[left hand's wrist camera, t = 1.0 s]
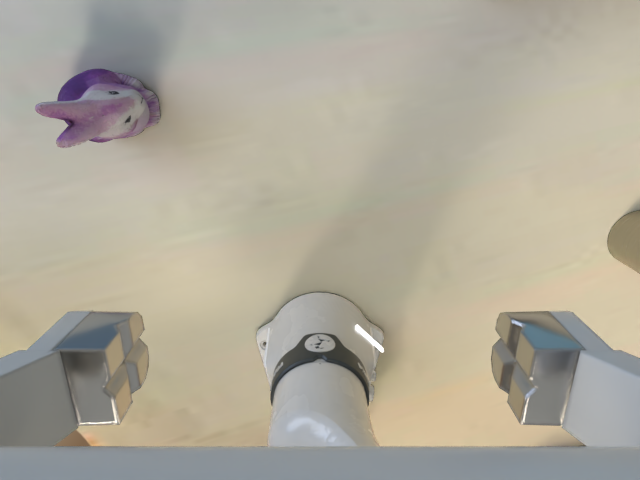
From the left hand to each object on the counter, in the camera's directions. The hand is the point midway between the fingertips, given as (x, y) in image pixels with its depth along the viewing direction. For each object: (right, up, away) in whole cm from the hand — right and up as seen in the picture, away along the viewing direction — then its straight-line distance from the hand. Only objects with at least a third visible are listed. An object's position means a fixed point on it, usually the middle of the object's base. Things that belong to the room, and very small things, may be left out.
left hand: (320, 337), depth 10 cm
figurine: (-24, +19, +44) cm, 54 cm away
